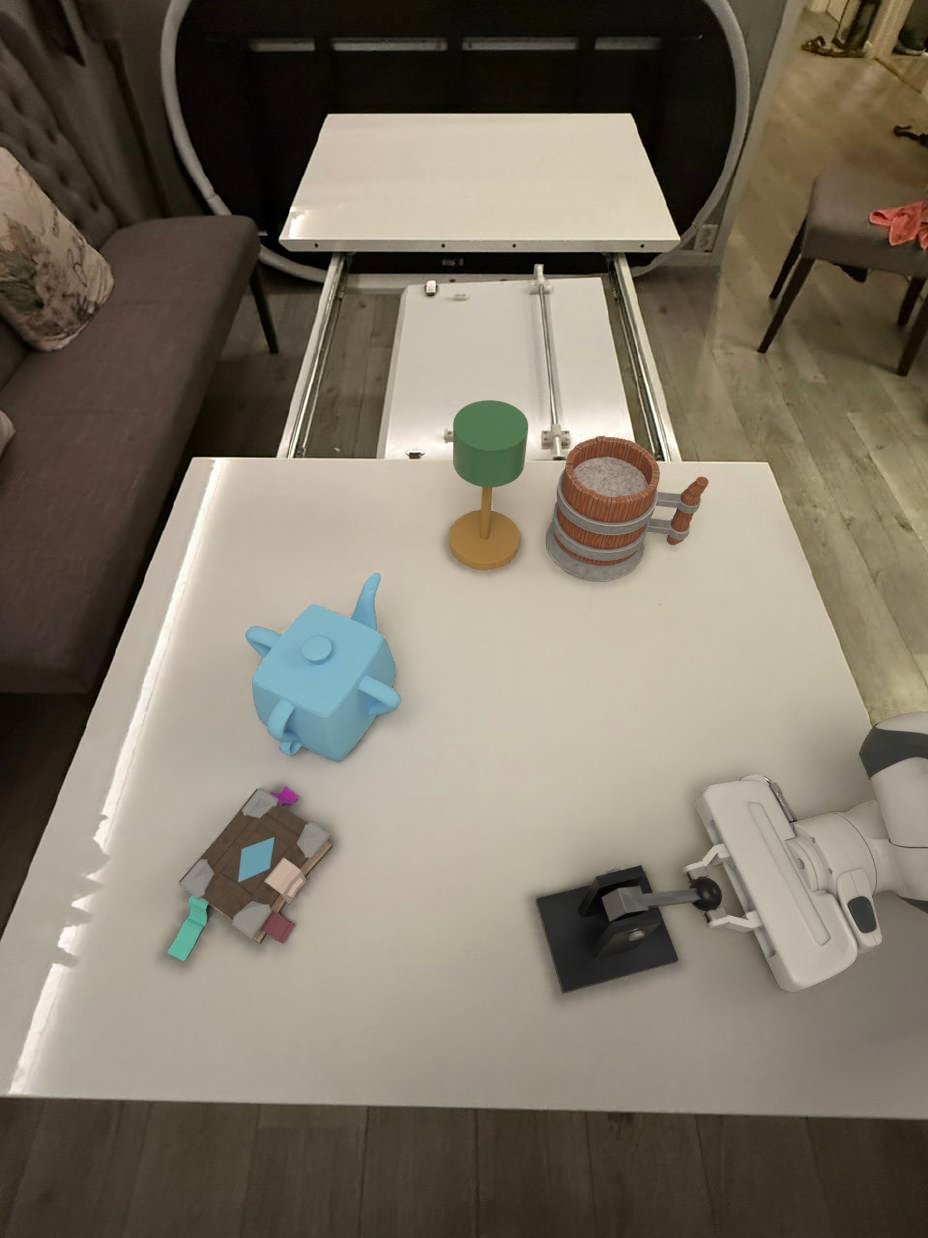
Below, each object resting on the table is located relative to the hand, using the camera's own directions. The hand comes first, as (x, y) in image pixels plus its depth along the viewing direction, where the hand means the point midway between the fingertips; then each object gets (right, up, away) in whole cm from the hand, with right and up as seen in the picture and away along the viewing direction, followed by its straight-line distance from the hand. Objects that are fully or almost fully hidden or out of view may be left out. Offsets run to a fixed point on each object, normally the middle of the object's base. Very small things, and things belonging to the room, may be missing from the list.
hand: (696, 898), depth 72 cm
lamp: (-20, +38, +33) cm, 54 cm away
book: (-45, -1, +5) cm, 45 cm away
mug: (-2, +38, +33) cm, 50 cm away
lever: (-5, 0, -2) cm, 5 cm away
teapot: (-38, +18, +18) cm, 46 cm away
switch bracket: (-9, -4, +3) cm, 10 cm away
